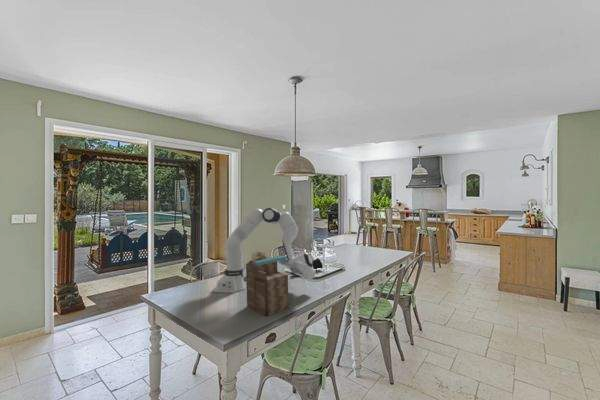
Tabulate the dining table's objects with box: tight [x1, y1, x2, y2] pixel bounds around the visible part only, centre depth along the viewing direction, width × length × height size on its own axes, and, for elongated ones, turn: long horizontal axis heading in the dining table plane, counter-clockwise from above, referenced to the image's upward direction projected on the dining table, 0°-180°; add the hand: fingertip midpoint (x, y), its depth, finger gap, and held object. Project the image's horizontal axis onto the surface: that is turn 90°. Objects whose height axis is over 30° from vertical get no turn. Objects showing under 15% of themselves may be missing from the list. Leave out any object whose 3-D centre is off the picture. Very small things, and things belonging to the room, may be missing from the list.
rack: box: [245, 250, 290, 317], centre depth 171 cm, size 16×20×32 cm
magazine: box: [291, 257, 324, 276], centre depth 243 cm, size 17×3×30 cm
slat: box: [254, 255, 287, 266], centre depth 176 cm, size 22×4×2 cm, turn 132°
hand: (283, 260), depth 182 cm, fingers open, 8 cm apart
